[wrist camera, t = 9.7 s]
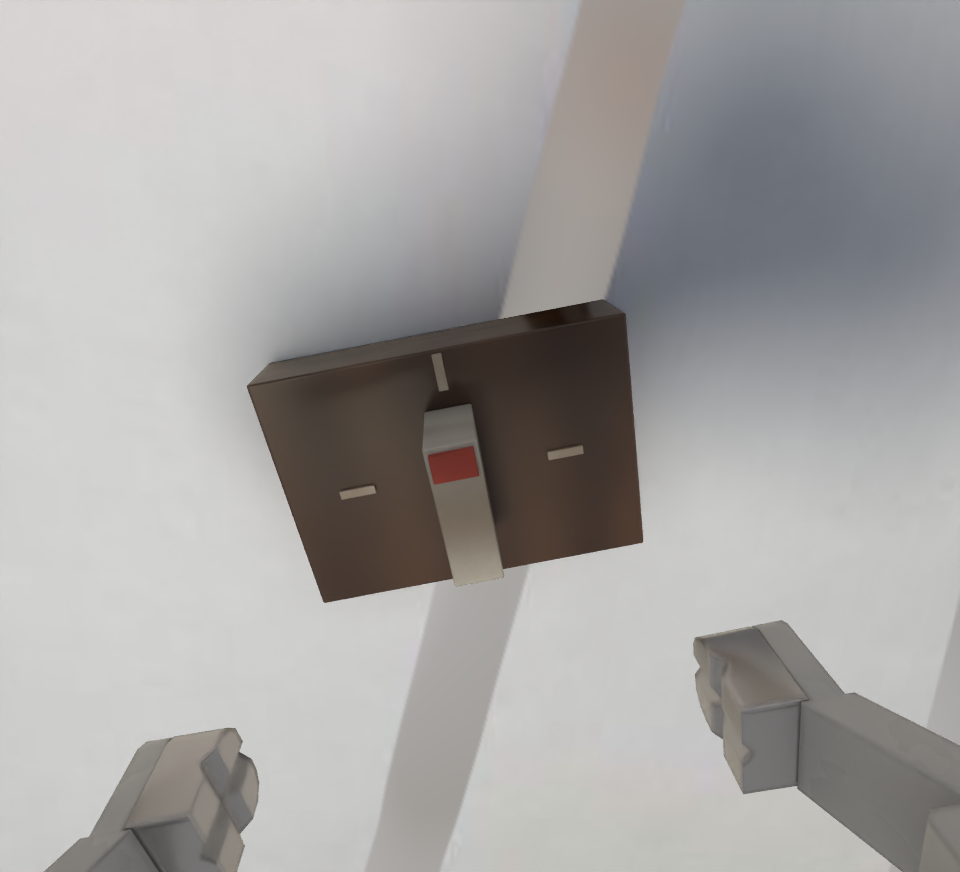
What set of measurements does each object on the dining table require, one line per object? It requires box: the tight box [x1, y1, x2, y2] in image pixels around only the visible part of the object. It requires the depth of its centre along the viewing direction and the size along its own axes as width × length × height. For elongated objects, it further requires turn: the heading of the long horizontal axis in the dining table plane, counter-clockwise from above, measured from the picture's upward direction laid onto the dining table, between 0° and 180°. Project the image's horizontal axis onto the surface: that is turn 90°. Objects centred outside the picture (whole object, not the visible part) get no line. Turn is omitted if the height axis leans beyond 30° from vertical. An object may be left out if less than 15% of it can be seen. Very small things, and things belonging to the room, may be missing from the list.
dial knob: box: [422, 404, 504, 586], centre depth 21 cm, size 6×2×4 cm, turn 10°
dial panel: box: [247, 300, 643, 603], centre depth 24 cm, size 14×10×3 cm
